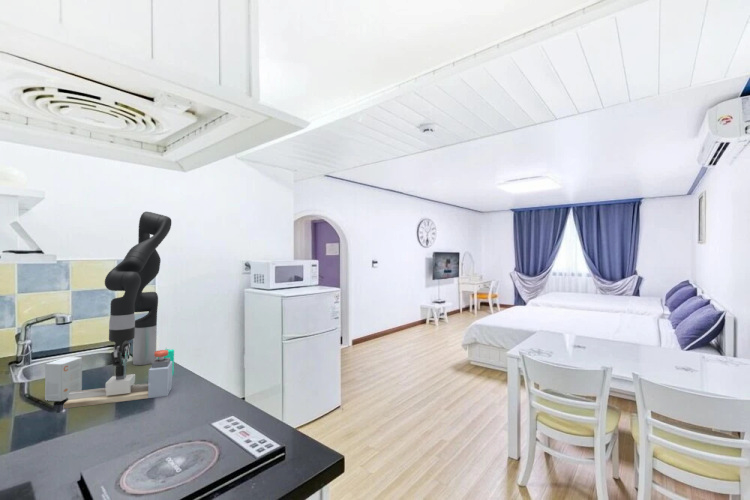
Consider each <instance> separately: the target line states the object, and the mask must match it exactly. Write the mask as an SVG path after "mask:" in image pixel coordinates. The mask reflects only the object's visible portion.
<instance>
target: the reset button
mask: <svg viewBox="0 0 750 500" xmlns="http://www.w3.org/2000/svg"><path fill="white" fill-rule="evenodd" d="M167 355H168V350H165V349H160V350H156V351H155V352H154V356H155V357H156V358H158V357H159V361H164V356H167Z"/></svg>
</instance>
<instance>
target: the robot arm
mask: <svg viewBox="0 0 750 500" xmlns="http://www.w3.org/2000/svg"><path fill="white" fill-rule="evenodd" d="M171 228H172V219H171V217H170V216H167V215H164V214H159V213H156V212H151V211H144V212H142V214H141V215H140V217H139V221H138V234H137V235H138V238H137V239H138V240H137V241H138V243H137V244H135V245H133V246H132V247H131V248H130V249H129V250H128V252H127V253H126V255H125V256H124V258H123V260H122V261H121V262H119V263H118V264H117V265H115V266H114V267H113V268H112V269H111V270H110V271H109V272H108V273H107V275H106V276H105V279H104V286H105V288H106V289H107V290H109V291H111V292H112V291H114V292H124V293H123V296H120V297H115V298H112V300H111V301H110V315H109V322H108V323H109V324H108V340H109V342H112V343H114V346H113V349H112V351H111V353H110V354H111V360H112V366H113V367H115V376H116V377H119V376H123V375H124V359H125V358H126V368H127V367H128V366H127V364H128V361H129V359H130V356H131V355H130V353H131V347H132V365H134V366H143V365H150V364H152V362H153V361H154V359H157V357H155V356H154V352H155V351H157V335H158V332H157V331H158V330H157V329H158V328H157V327H158V326H157V325H158V323H157V322H158V307H159V295H158V293H157V292H156V291H144V289H145V288H146V287H147V286H148V285H149V284H150V283H151V282H152V281H153V280H154V279H155V278H156V277H157V276H158V275H159V274H160V273H159V272H160V268H161V256H160V254H159V252H158V251H157V248H158V247H159V245H161V244H162V242H163V241H164V239H165V238H166V237H167V236H168V234H169V233H170V230H171ZM151 235H152V236H151ZM143 291H144V292H143ZM146 312H147V313H146ZM135 313H146V315H144V316H142V317H140V318H137V319H136V317H135ZM129 341H132V343H131V342H129ZM118 361H119V362H118Z"/></svg>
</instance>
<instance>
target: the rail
mask: <svg viewBox="0 0 750 500" xmlns="http://www.w3.org/2000/svg"><path fill="white" fill-rule="evenodd" d="M105 389H106V387H102V388H101V387H99V388H92V389H83V390H81V391H72V392H70V393H69V394H68V398H67V400H66V401H65V402H64V403H63V407H62V408H63V409H70V408H79V407H86V406H94V405H95V406H96V405H104V404H112V403H120V402H129V401H136V400H143V399H144V400H145V399H149V398H148V383H147V382H146V383H138V384H135V385H132V386H131V392H130V393H126V394H118V395H109V396H106V391H105Z"/></svg>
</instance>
